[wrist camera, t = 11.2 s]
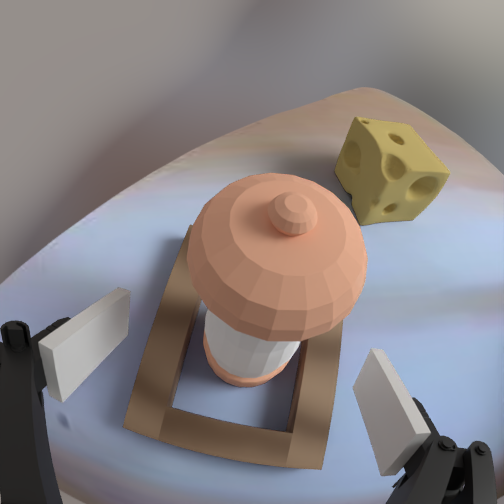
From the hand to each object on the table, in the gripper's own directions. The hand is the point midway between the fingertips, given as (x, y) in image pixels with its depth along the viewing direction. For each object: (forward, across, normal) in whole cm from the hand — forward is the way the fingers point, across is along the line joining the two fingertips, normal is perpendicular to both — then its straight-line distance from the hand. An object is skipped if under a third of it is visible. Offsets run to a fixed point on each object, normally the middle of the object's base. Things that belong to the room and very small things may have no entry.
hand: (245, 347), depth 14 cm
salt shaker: (+10, 0, -6) cm, 12 cm away
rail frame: (+10, 0, -6) cm, 11 cm away
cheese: (+27, +13, +11) cm, 32 cm away
